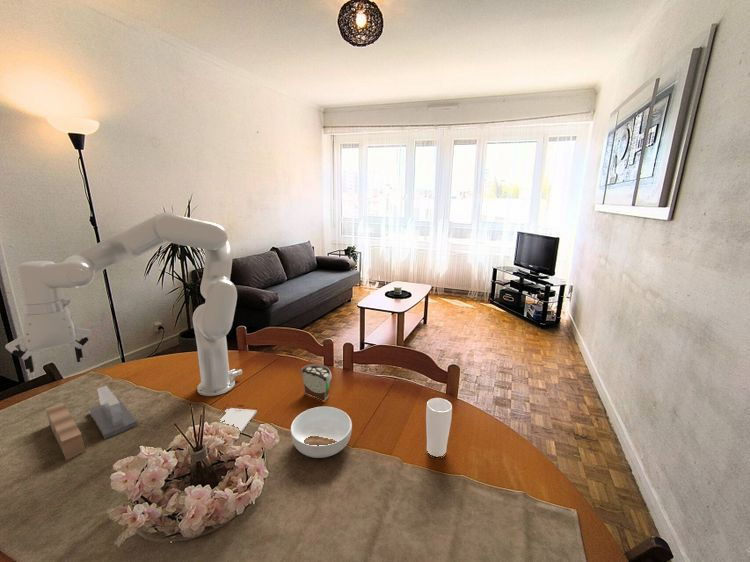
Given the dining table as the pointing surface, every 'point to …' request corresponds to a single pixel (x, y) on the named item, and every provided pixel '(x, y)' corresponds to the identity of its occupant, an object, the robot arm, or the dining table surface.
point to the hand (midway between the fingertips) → (56, 365)
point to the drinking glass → (438, 425)
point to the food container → (316, 380)
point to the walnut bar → (65, 431)
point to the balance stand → (111, 414)
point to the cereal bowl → (321, 430)
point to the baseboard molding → (238, 417)
